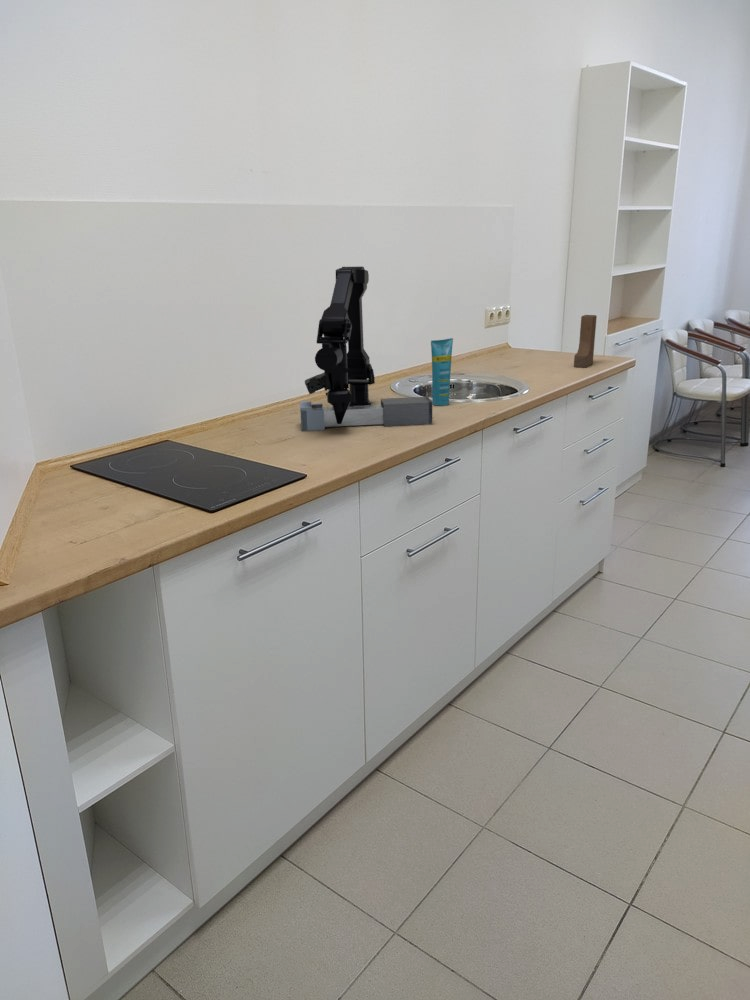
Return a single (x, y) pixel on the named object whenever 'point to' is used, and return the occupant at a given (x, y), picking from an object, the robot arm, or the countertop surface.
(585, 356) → the wooden block
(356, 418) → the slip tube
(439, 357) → the tube
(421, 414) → the sleeve
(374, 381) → the robot arm
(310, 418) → the blue-grey u-shaped block
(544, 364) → the countertop surface
